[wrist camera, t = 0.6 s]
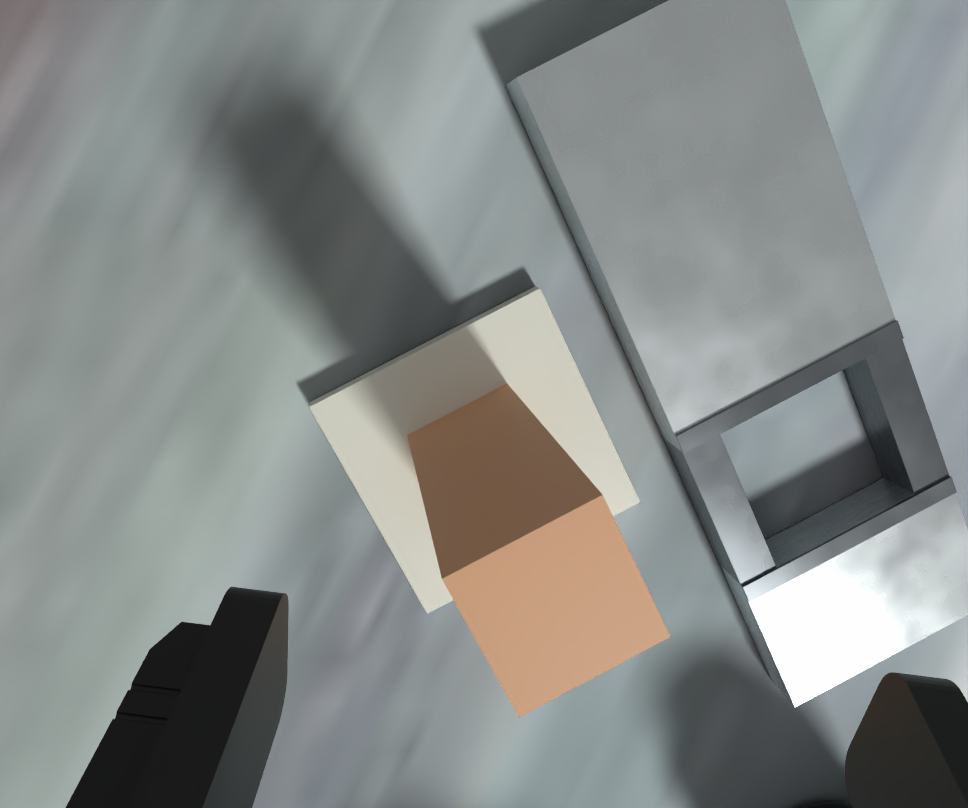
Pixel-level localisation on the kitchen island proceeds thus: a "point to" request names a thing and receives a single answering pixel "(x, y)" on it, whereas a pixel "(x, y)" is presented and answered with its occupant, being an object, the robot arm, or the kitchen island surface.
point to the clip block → (529, 551)
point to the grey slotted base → (752, 315)
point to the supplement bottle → (829, 805)
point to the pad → (445, 388)
